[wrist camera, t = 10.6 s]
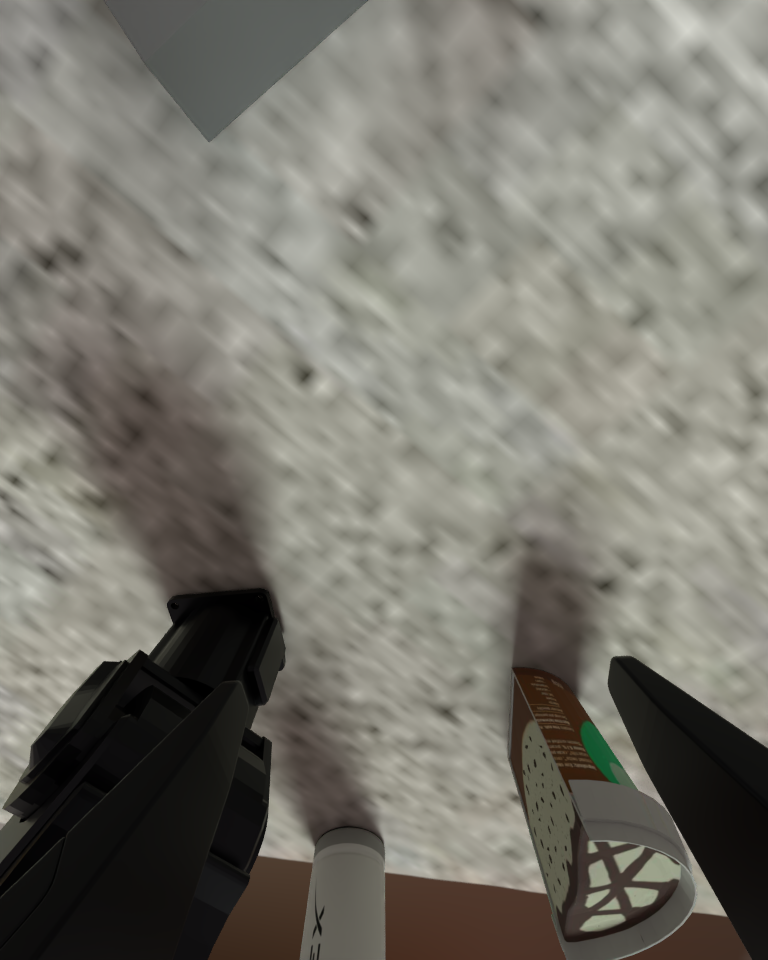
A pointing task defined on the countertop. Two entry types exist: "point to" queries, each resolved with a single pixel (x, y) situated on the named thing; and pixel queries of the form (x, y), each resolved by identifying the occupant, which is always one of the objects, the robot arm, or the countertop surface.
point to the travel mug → (346, 898)
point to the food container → (593, 828)
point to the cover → (225, 47)
